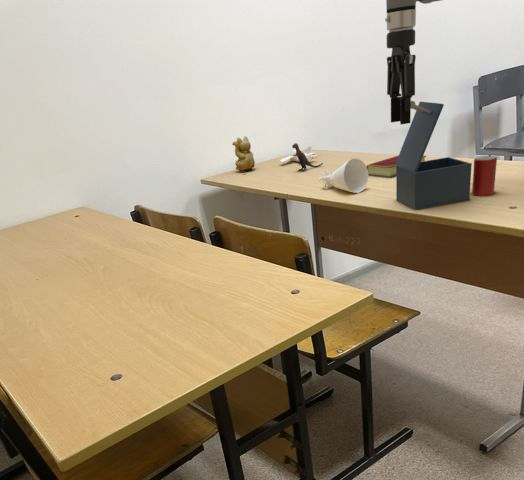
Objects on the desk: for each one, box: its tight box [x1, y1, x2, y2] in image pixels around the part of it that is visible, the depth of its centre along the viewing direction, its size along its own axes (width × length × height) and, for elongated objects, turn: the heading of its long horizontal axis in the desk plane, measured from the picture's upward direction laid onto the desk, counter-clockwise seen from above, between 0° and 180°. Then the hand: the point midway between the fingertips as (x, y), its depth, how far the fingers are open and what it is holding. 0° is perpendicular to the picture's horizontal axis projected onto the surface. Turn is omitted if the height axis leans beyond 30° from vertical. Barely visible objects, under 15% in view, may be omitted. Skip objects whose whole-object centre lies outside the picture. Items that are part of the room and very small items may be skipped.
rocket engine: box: [318, 157, 370, 194], centre depth 192 cm, size 12×12×18 cm
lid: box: [396, 100, 445, 172], centre depth 155 cm, size 19×14×8 cm
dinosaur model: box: [291, 143, 324, 172], centre depth 231 cm, size 4×12×15 cm
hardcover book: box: [366, 155, 427, 179], centre depth 208 cm, size 12×21×4 cm, turn 127°
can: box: [471, 155, 498, 197], centre depth 163 cm, size 6×6×11 cm
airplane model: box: [278, 146, 317, 163], centre depth 248 cm, size 20×20×8 cm
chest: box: [395, 156, 473, 211], centre depth 163 cm, size 18×14×11 cm
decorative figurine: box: [231, 135, 256, 173], centre depth 245 cm, size 10×8×15 cm
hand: (400, 122), depth 153 cm, fingers closed on lid, 6 cm apart
